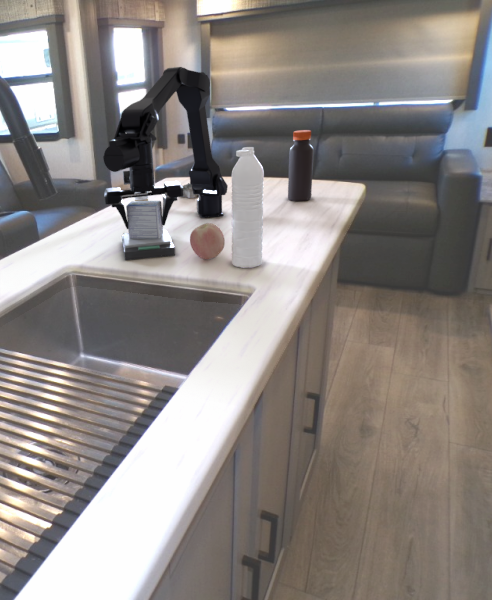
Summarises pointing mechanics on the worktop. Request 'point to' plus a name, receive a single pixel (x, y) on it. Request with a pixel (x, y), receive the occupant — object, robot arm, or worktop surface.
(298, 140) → the vinegar
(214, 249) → the apple
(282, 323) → the worktop surface
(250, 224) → the water bottle
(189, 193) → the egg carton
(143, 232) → the medicine box
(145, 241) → the kitchen scale
